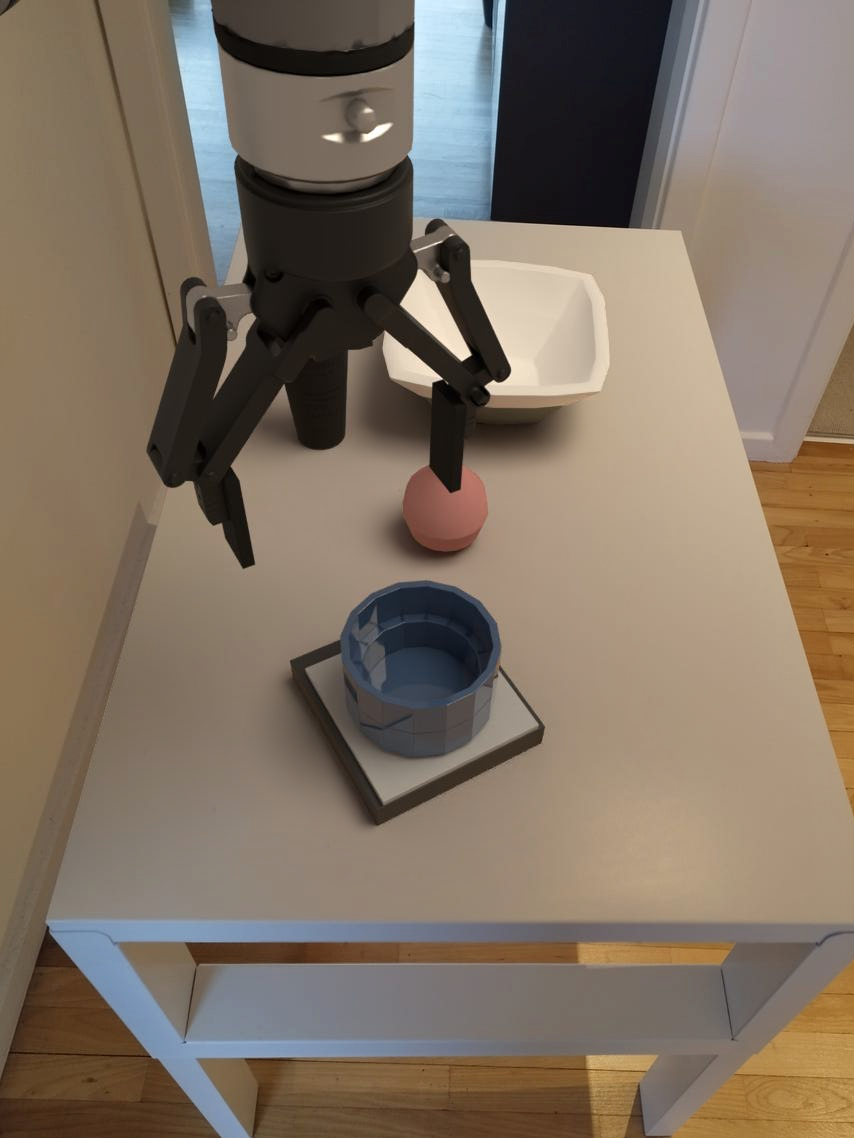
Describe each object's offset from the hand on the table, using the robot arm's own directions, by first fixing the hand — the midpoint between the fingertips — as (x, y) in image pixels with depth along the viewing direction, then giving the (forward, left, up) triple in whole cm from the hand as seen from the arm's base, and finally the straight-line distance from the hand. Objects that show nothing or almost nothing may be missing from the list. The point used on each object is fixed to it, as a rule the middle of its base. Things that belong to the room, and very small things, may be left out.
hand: (347, 513), depth 55 cm
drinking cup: (-31, +11, -22) cm, 40 cm away
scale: (+2, +4, -22) cm, 22 cm away
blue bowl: (+3, +4, -19) cm, 19 cm away
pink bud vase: (-13, +15, -22) cm, 30 cm away
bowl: (-29, +30, -22) cm, 47 cm away
